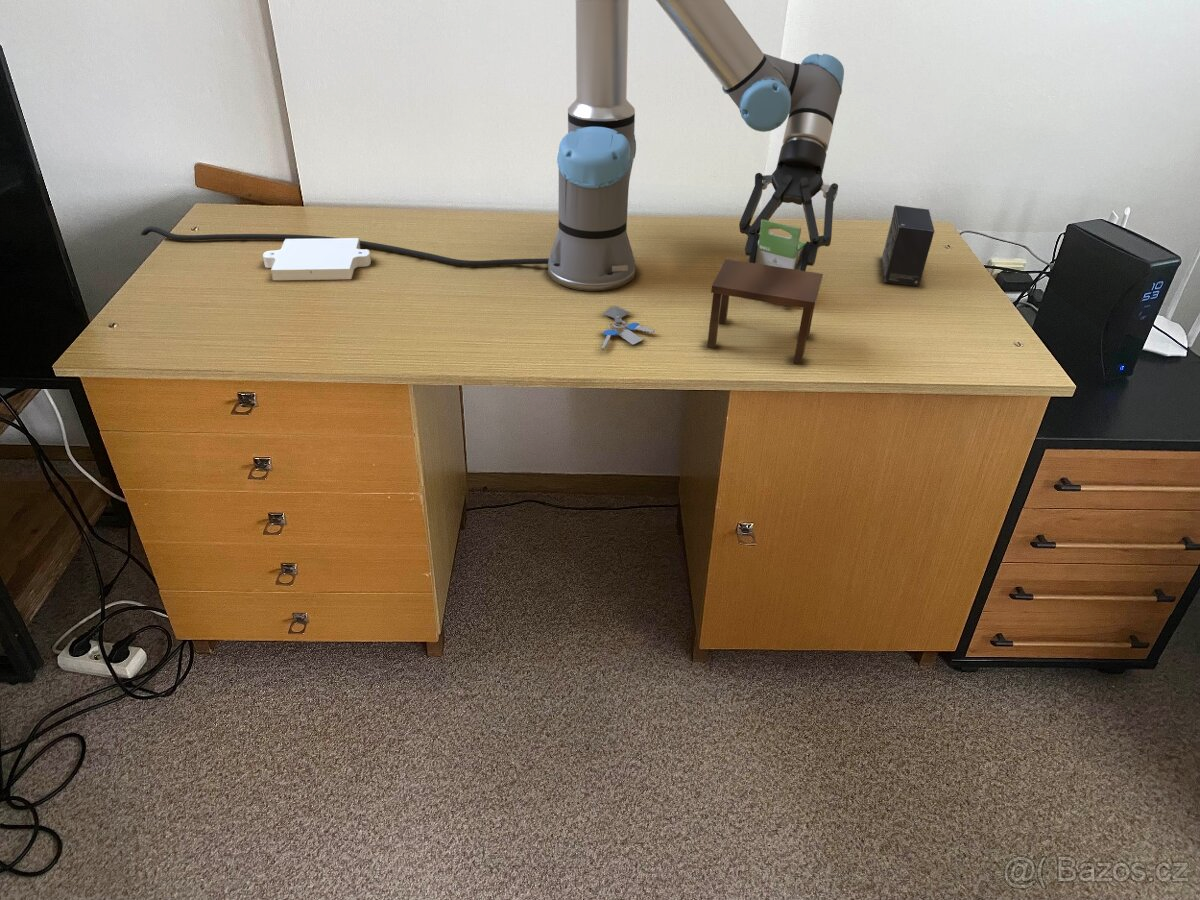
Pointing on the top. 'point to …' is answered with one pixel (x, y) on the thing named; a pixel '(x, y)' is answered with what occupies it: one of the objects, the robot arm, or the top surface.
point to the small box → (907, 245)
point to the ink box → (779, 246)
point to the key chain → (626, 334)
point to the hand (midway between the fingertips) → (774, 278)
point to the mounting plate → (316, 259)
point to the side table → (764, 294)
